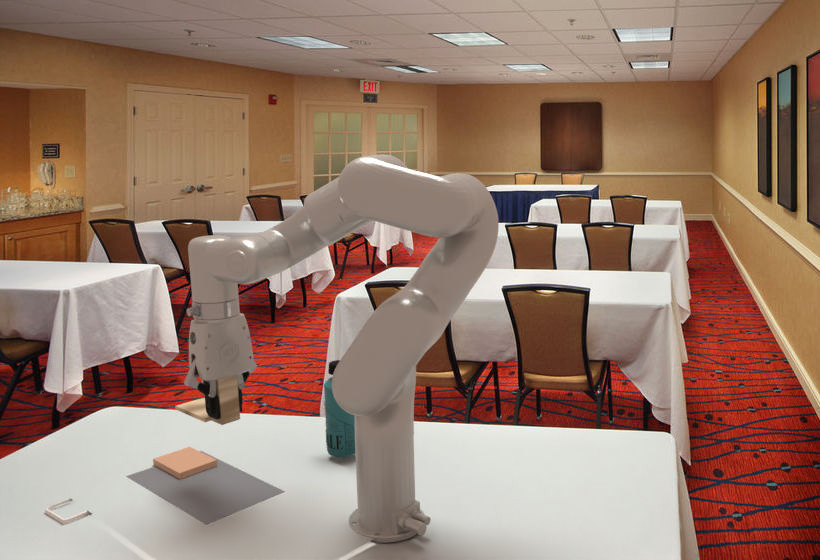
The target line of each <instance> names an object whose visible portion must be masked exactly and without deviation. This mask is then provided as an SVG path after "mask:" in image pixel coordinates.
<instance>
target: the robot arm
mask: <svg viewBox="0 0 820 560" xmlns="http://www.w3.org/2000/svg"><path fill="white" fill-rule="evenodd" d="M372 222H377V223H380V224H383V225H387V226H391V227H395V228H397V229H402V230H405V231H408V232H412V233H415V234H419V235H421V236H425V237H426V236H427V237H429V238H430V237H431V238H438V239H437V241H436V243H434V245H433V246H432V248H431V249H430V251H429V252H428V253H427V254H426V256H425V257H424V258H423V261H422V262H421V264H420V265H419V267H418V268H417V270H416V271H415V272H414V274H413V275H412V277H411V278H410V279H409V280H408V282H407V284H405V286H404V287H403V288H402V289H400V290H399V291H397V292H396V293H394V294H393V295H391V296H390V297H388V298H387V299H386V300H384V301H383V302H381V303H380V305H378V307H377V308H376V309H375V310H374V311H373V312H372V314H371V315H370V316H369V318H368V319H367V320H366V322H365V323H364V325H363V326H362V327H361V330H360V331H359V332H358V334H356V336H355V338H354V340H352V342H351V343H350V345H349V347H348V348H347V350H346V351H345V352H344V354H343V355H342V357H341V359H339V360H340V361H339V363H338V365H337V366H336V368H335V371H334V373H333V375H332V376H331V377H332V391H333V395H334V398H335V400H336V402H337V403H338V405H339V406H340V407H341V408H342V409H343V410H344V411H346V412H347V413H349V414H352V415H355V453H356V454H355V470H356V471H355V473H356V499H357V501H356V502H357V504H356V505H357V508H355V510H353V511H352V512H351V514H350V515H349V517H348V525H349V527H350V528H351V529H352V530H353V532H355V533H356V534H359V535H361V536H364V537H368V538H372V539H371V540H370V542H371V543H372V542H373V543H384V544H385V543H386V544H387V543H395V542H397V543H398V542H401V541H404V540H405V541H406V540H408V539H410V538H413V537H415V536H416V535H419V536H424V534H425V533H426V531H427V527H428V526H429V524H430V523H431V517H430V516H428V515H426V514H425V513H424V511H423V510H422V509H421V502H420V501H419V500H417V499H416V480H415V479H416V475H415V474H416V473H415V471H416V470H415V443H414V442H415V437H414V436H415V435H414V434H415V428H414V425H415V423H414V421H415V419H414V418H415V417H414V412H415V410H414V409H415V408H414V407H415V391H416V382H417V380H416V379H417V365H418V363H419V362H420V360H421V359H422V358H423V357H424V355H425V354H426V353H427V351H428V350H430V349H431V347H432V346H433V345H435V344H436V343H437V341H438V340H440V338H441V337H442V335H443V333H444V332H445V330H446V328H447V327H448V325H449V323H450V322H451V320H452V318H453V317H454V315H455V314H456V312H458V310H459V309H460V307H461V305H462V304H463V303H464V302H465V300H466V298H467V297H468V295H469V294H470V292H471V290H472V289H473V288H474V287H475V285H476V283H477V282H478V280H479V279H480V277H481V276H482V275H483V273H484V271H485V270H486V268H487V266H488V264H489V263H490V261H491V258H492V257H493V254H494V252H495V249H496V246H497V241H498V236H499V223H500V222H499V214H498V210H497V206H496V203H495V201H494V199H493V196H492V194H491V193H490V191H489V189H488V188H487V187H486V185H485V184H484V183H483V182H482V181H480V179H478V178H476V177H475V176H473V175H470V174H467V173H460V172H458V173H457V172H456V173H450V174H449V173H448V174H445V175H441V176H438V175H434V174H431V173H426V172H422V171H417V170H413V169H410V168H408V166H407V165H406V164H405V163H404V162H403V161H402V160H401V159H399V158H398V157H397V156H394V155H391V154H384V153H382V154H373V155H363V156H360V157H357V158H355V159H353V160H351V161H350V162H349V163H348V164H347V165H346V166H345V167H344V168H343V169H342V170H341V172H340V174H339V176H338V177H336V178H335V179H333V180H331V181H330V182H328V183H327V184H324V185H323V186H321V187H319V188H318V189H316V190H314V191H312V192H311V193H309V194H307V196H306V197H305V198H304V201H303V206H302V207H301V208H300V209H299V210H298V211H297V212H296V213H294V214H291V216H289V217H288V218H285V219H284V220H283V221H281V222H280V223H277V224H276V225H274V226H272V227H270V228H269V229H266V230H265V231H261V232H257V233H252V234H249V235H246V236H243V237H239V238H238V237H237V238H234V239H233V238H231V237H230V236H228V235H222V234H220V235H219V234H218V235H217V234H216V235H215V234H214V235H213V234H212V235H202V236H197V237H194V238H192V239H191V240H189V242H188V245H187V251H188V252H187V253H188V264H189V276H190V287H191V299H192V302H191V307H189V308H186V314H187V316H188V317H192V318H193V319H191V321H190V325H189V337H188V361H189V363H188V364H189V370H188V372H187V375H186V376H185V379H184V382H183V383H184V385H185V386H187V387H190V388H193V389H195V390H197V391H198V392H200V393H201V395H203V396H204V397H205V406H206V412H207V414H208V416H209V417H212V418H214V419H220V417H221V416H220V404H219V397H218V396H216V382H217V380H219V379H223V378H227V377H230V376H234V375H237V383H238V396H239V409H240V413H242V412H243V391H242V390H243V389H244V388H245V383H246V382H247V380H248V379H249V377H250V375H251V374H252V373H253V372H254V371H255V370H256V369H257V367H258V363H256V361H255V360H254V352H253V344H252V338H251V334H250V330H249V329H250V328H249V325H248V322H247V319H246V317H245V314H244V313H241V311H240V310H241V309H240V298H239V286H238V285H251V284H255V283H258V282H260V281H263V280H266V279H267V278H269V277H273V276H275V275H277V274H278V275H279V274H280V273H282V272H285V271H286V270H288V269H290V268H292V267H293V266H295V265H298V264H299V263H300V262H303V261H305V260H306V259H307V258H310V257H311V256H313V255H314V254H316V253H318V252H319V251H321V250H323V249H325V248H326V247H329V246H332V245H333V244H336V243H337V242H338V241H340V240H342V239H343V238H346V237H347V236H349V235H351V234H352V233H354V232H356V231H358V230H359V229H362V228H363V227H365V226H366V225H368V224H370V223H372ZM198 378H200V379H201V382H200V381H198V380H197V379H198Z"/></svg>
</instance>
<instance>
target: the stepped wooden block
mask: <svg viewBox="0 0 820 560" xmlns="http://www.w3.org/2000/svg"><path fill="white" fill-rule="evenodd" d="M216 396H218V397H219V404H220V416H221V417H220V419H214V418H212V417H209V416H208V414H207V412H206V406H205V396H204V397H201V398H198V399H195V400H191V401H188V402H183V403H181V404H177V405H175V406H174V407H175V410H176V411H178V412H181V413H183V414H185V415H187V416H190V417H192V418H194V419H196V420H199V421H201V422H203V423H208V422H214V423H216V424H219V425H221V426H224V425H227V424H230V423H233V422H237V421H239V420H241V412H240V409H239V396H238V383H237V375H234V376H230V377H227V378H223V379H219V380H217V382H216Z"/></svg>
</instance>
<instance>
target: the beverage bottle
mask: <svg viewBox="0 0 820 560" xmlns="http://www.w3.org/2000/svg"><path fill="white" fill-rule="evenodd" d="M340 360H341V359H339V360H338V359H336V360H331V361H329V362H328V371H327V372H328V374H329V375H331V377H329V378H328V379H327V380H326V381H325V382H324V383H323V388H324V389H323V391H324V402H323V404H324V405H323V406H324V416H325V424H324V425H325V436H326V437H325V444H326V446H325V447H326V451H327V454H328V455H330V456H332V457H335V458H347V457H351V456H354V455H356V453H355V415H352V414H349V413H347V412H346V411H344V410H343V409H342V408H341V407H340V406H339V405H338V403H337V402H336V400H335V398H334V395H333V391H332V377H333V373H334V371H335V368H336V366H337V365H338V363H339V361H340Z"/></svg>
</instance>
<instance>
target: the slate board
mask: <svg viewBox="0 0 820 560" xmlns="http://www.w3.org/2000/svg"><path fill="white" fill-rule="evenodd" d="M199 451H200V452H202V453H204V454H206V455H208V456H210V457H212V458H214V459H216V460H217V466H215V467H213V468H210V469H207V470H204V471H202V472H199V473H196V474H193V475H191V476H188V477H185V478H182V479H179V478H177V477H175V476H173V475H171V474H170V473H168V472H166V471H164V470H162V469H160V468H159V467H157V466H155V465H154V466H152V467H149V468H146V469H144V470H143V469H142V470H140V471H137V472H135V473H132V474H129V475H126V478H127V479H130V480H131V481H132V482H135V483H137V484H138V485H140V486H141V487H142V488H145V489H146V490H147V491H150V492H151V493H153V494H155V495H156V496H158V497H160V498H161V499H163V500H165V501H167V502H168V503H170V504H172V505H173V506H175V507H176V508H178V509H180V510H181V511H183V512H185V513H186V514H188V515H189V516H191V517H193V518H194V519H196V520H198V521H200V522H202V523H203V524H205V525H209V524H211V523H214V522H216V521H218V520H220V519H221V520H222V519H223V518H226V517H227V516H230V515H233V514H235V513H237V512H240V511H242V510H245V509H247V508H249V507H252V506H254V505H257V504H260V503H261V502H264V501H267V500H268V499H271V498H274V497H275V496H278V495H280V494H283V493H285V492H286V491H285V490H283V489H281V488H279V487H277V486H275V485H273V484H271V483H269V482H267V481H265V480H262V479H260V478H258V477H256V476H254V475H252V474H250V473H248V472H245V471H244V470H241V469H239V468H238V467H236V466H233V465H231V464H229V463H227V462H225V461H223V460H221V459H219V458H217V457H215V456H212V455H210V454H208V453H206V452H204V451H203V450H199Z"/></svg>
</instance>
